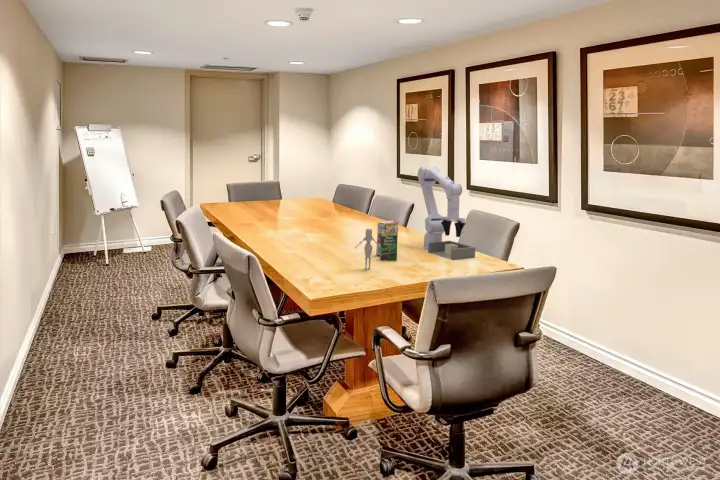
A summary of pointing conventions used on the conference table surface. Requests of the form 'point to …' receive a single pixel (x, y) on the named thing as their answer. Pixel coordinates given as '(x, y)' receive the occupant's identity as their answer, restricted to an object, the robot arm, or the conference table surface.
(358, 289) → the conference table surface
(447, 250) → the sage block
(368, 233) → the human figurine
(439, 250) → the open box
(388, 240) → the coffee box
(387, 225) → the candy bar box
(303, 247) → the conference table surface
